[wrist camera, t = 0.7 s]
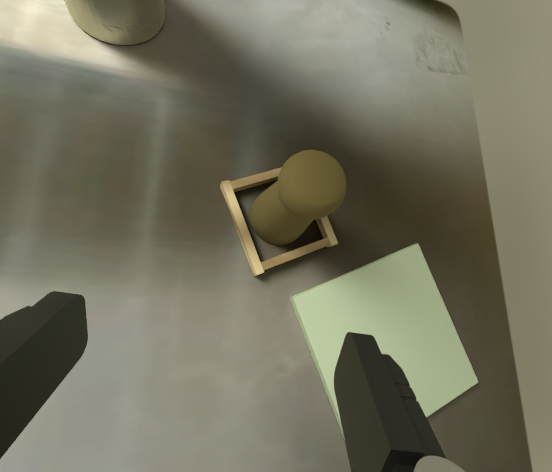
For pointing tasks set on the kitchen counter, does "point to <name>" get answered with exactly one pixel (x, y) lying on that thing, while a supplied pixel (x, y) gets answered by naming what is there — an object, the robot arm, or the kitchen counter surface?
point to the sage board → (388, 326)
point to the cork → (298, 197)
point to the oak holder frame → (244, 235)
